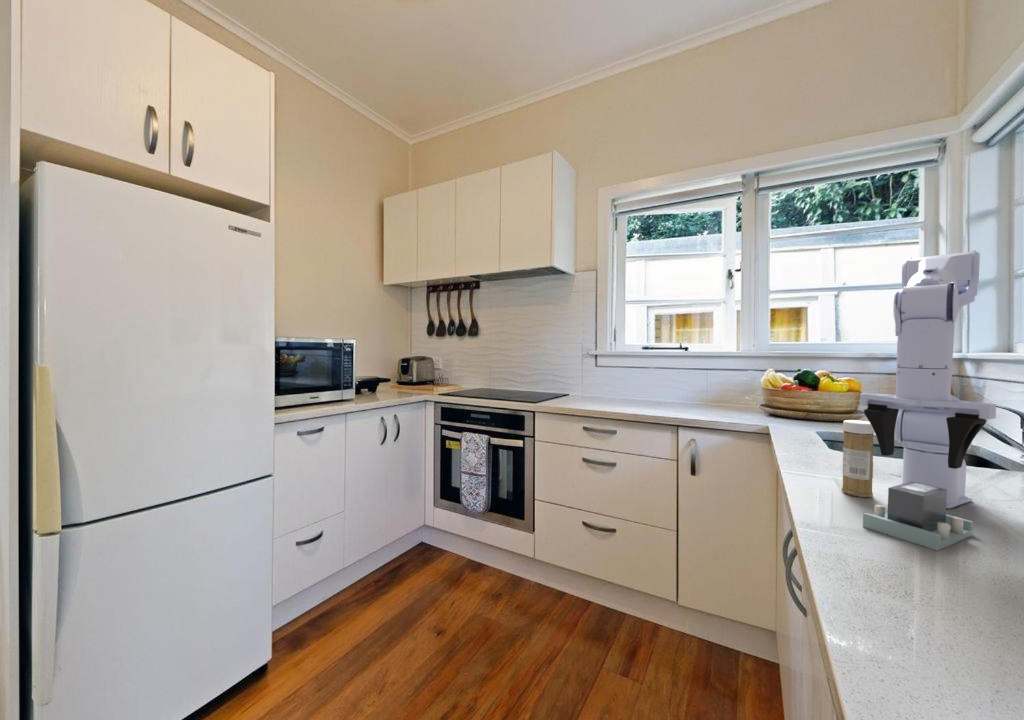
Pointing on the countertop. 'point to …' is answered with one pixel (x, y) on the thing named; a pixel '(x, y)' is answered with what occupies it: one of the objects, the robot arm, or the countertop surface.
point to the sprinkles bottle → (858, 458)
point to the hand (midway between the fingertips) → (919, 460)
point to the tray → (935, 540)
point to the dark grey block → (917, 505)
